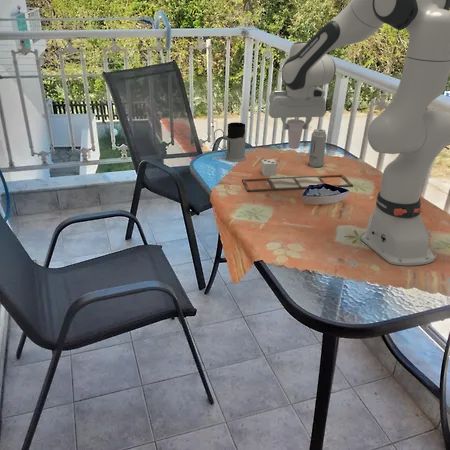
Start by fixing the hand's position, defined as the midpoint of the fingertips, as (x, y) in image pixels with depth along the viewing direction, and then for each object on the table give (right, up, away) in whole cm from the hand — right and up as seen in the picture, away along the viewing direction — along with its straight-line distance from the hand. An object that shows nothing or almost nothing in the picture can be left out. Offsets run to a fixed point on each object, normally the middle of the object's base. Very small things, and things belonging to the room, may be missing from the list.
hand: (295, 129), depth 170 cm
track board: (+2, -19, +10) cm, 22 cm away
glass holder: (-24, -6, +34) cm, 42 cm away
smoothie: (0, -6, +3) cm, 7 cm away
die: (-8, -14, +20) cm, 25 cm away
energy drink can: (+13, -10, +28) cm, 32 cm away
